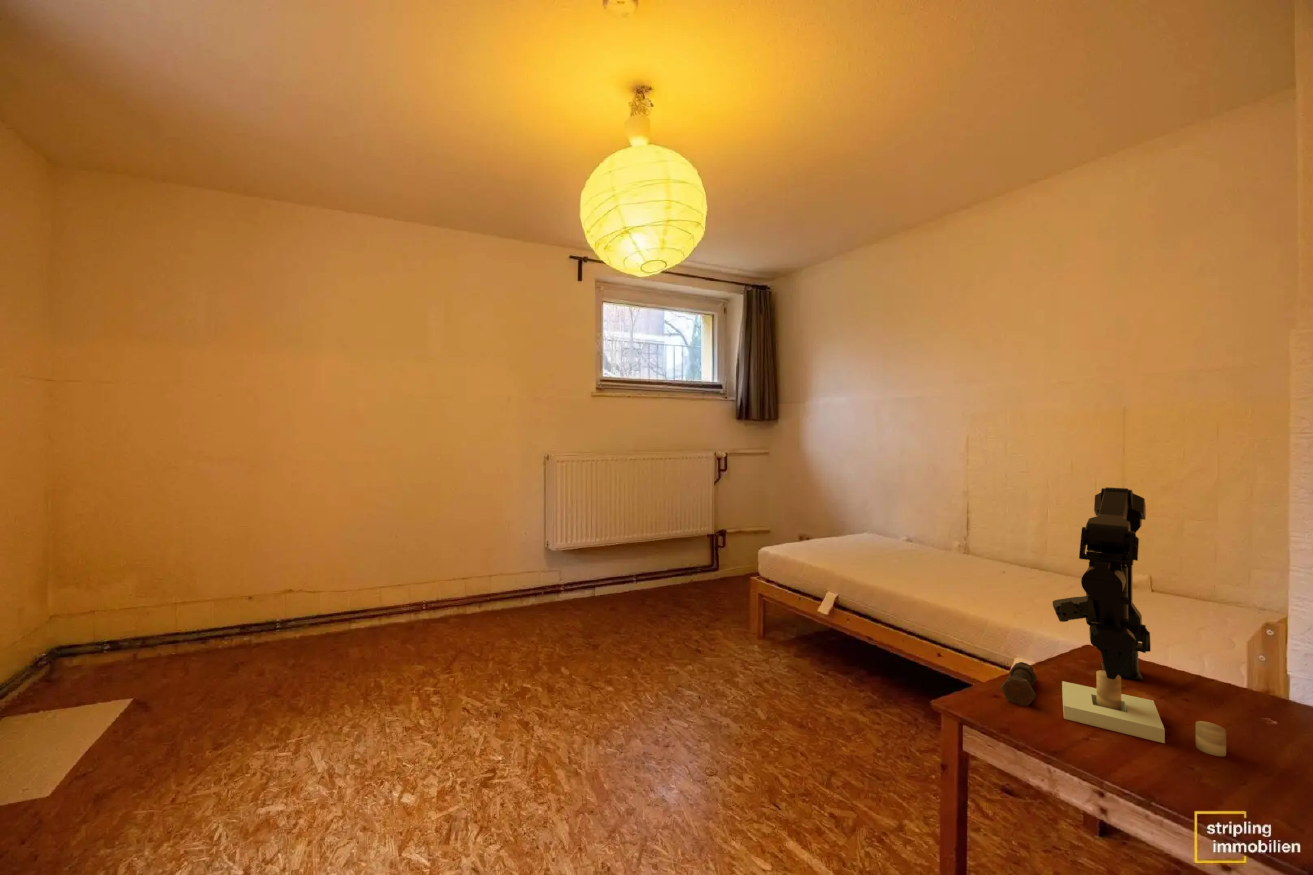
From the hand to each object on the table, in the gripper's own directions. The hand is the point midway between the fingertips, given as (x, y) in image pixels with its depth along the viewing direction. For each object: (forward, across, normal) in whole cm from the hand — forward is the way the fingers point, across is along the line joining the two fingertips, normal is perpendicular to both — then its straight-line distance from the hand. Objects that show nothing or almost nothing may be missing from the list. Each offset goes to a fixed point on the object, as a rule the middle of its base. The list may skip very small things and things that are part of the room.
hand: (1108, 669), depth 101 cm
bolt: (+10, -3, -14) cm, 17 cm away
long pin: (+9, 0, 0) cm, 9 cm away
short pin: (+9, +4, +13) cm, 16 cm away
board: (+9, 0, 0) cm, 9 cm away
